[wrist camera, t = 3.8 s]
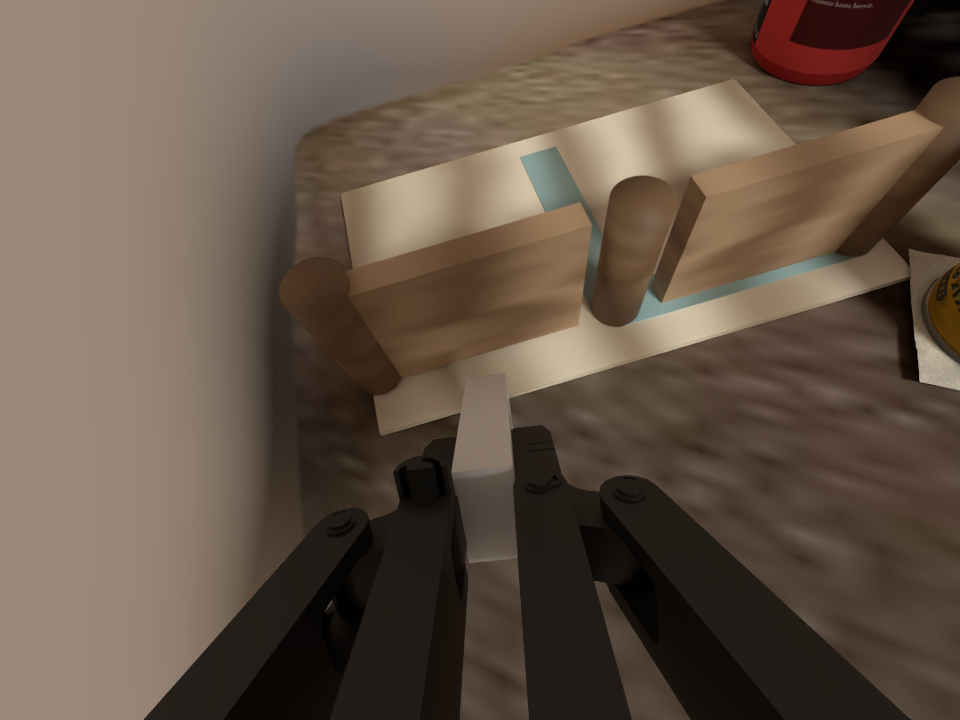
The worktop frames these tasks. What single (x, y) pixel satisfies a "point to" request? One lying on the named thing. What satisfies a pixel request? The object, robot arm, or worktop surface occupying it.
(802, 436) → the worktop surface
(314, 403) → the worktop surface
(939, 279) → the condiment
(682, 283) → the fence fixed
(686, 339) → the board
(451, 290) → the fence panel
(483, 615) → the worktop surface
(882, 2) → the canned food
